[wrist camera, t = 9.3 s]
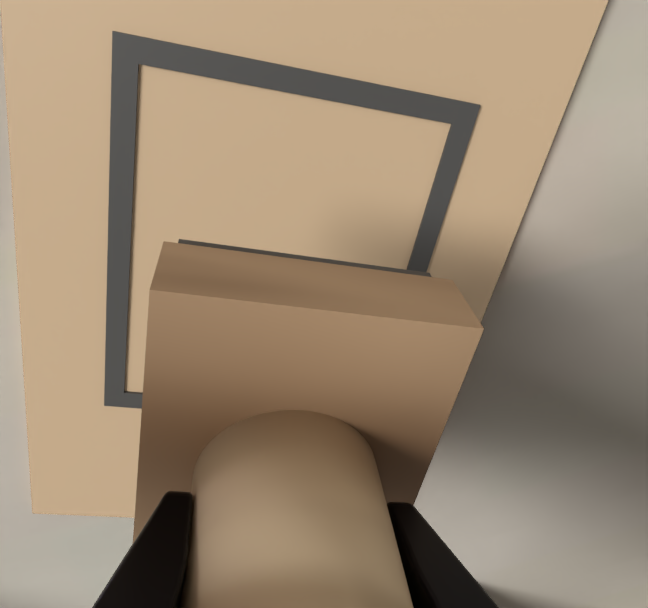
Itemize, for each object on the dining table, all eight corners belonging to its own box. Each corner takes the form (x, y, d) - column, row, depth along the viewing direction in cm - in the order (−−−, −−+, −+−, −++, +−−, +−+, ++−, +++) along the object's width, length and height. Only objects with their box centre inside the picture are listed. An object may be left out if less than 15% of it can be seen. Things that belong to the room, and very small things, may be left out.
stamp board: (397, 522, 24) (399, 530, 24) (34, 506, 21) (31, 515, 21) (647, -119, 13) (658, -121, 13) (-14, -320, 11) (-23, -329, 10)
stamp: (356, 517, 14) (465, 1061, 7) (145, 508, 13) (32, 1131, 6) (442, 264, 11) (806, 825, 4) (168, 226, 10) (-27, 892, 3)
